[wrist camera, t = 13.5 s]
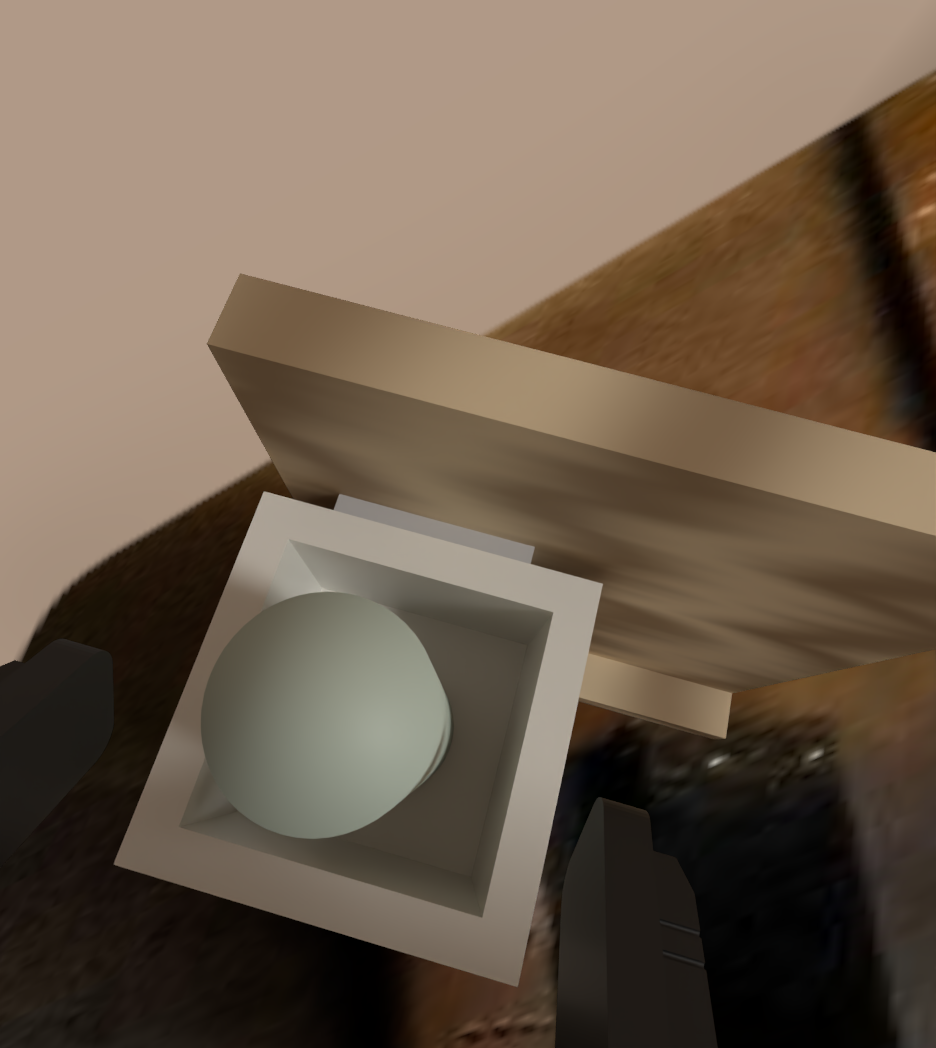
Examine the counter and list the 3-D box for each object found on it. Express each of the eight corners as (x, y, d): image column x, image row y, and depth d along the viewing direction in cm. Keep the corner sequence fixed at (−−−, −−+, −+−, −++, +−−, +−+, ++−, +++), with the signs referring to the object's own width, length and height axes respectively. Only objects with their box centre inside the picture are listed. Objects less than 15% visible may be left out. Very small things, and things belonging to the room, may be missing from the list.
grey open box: (563, 609, 22) (608, 557, 17) (493, 917, 19) (517, 987, 14) (315, 540, 23) (274, 466, 17) (209, 832, 20) (113, 864, 14)
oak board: (728, 631, 29) (1159, 445, 12) (713, 739, 27) (1180, 709, 10) (365, 531, 29) (265, 218, 12) (331, 631, 28) (164, 433, 11)
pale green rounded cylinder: (467, 680, 20) (465, 623, 11) (435, 807, 19) (401, 869, 10) (351, 650, 20) (249, 567, 11) (313, 773, 19) (164, 800, 10)
